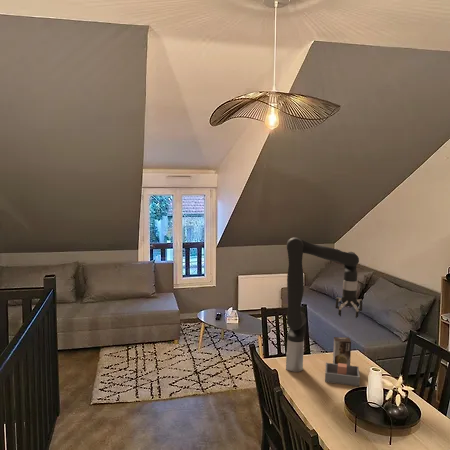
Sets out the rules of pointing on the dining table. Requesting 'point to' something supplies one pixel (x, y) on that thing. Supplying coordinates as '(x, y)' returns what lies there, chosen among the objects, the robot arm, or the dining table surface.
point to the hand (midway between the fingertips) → (348, 316)
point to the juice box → (342, 368)
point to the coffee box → (342, 350)
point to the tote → (348, 379)
